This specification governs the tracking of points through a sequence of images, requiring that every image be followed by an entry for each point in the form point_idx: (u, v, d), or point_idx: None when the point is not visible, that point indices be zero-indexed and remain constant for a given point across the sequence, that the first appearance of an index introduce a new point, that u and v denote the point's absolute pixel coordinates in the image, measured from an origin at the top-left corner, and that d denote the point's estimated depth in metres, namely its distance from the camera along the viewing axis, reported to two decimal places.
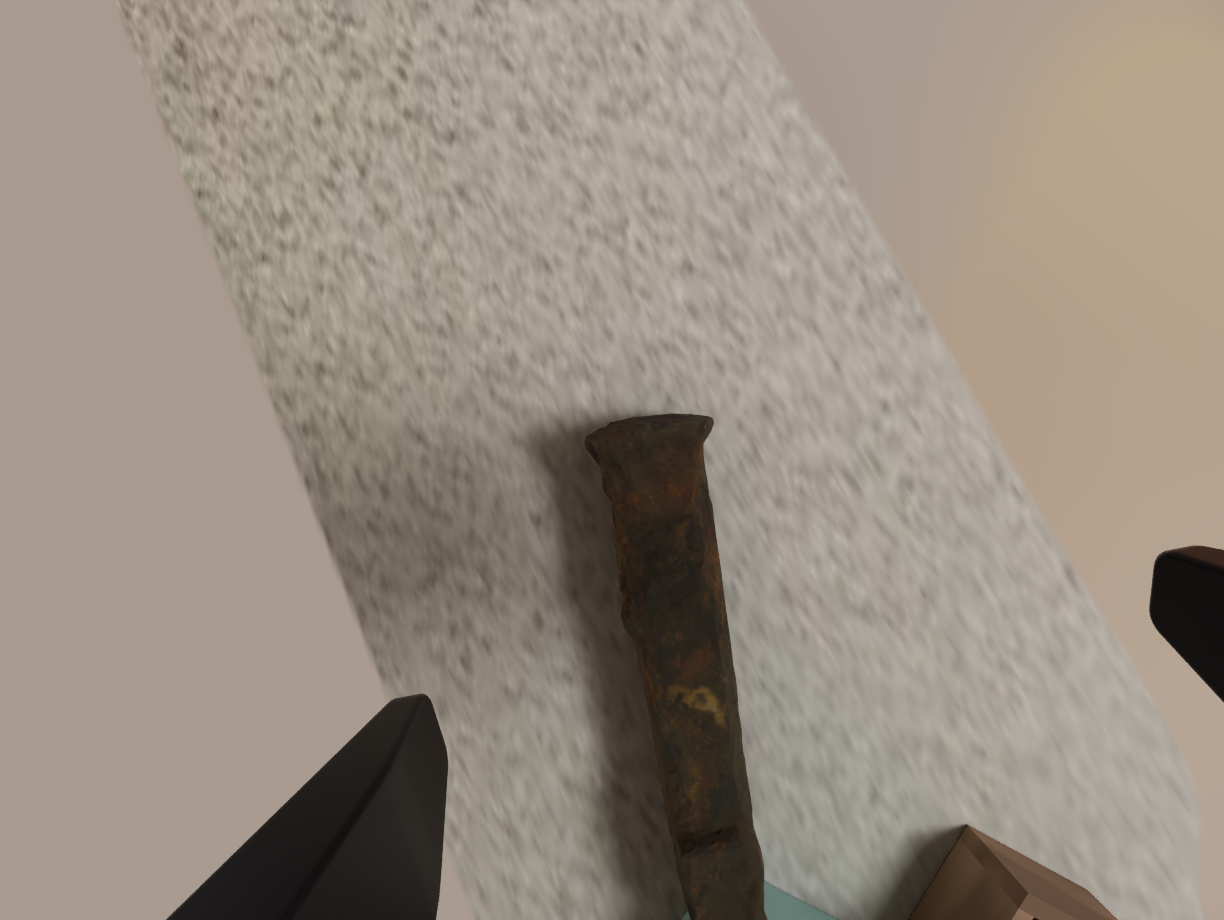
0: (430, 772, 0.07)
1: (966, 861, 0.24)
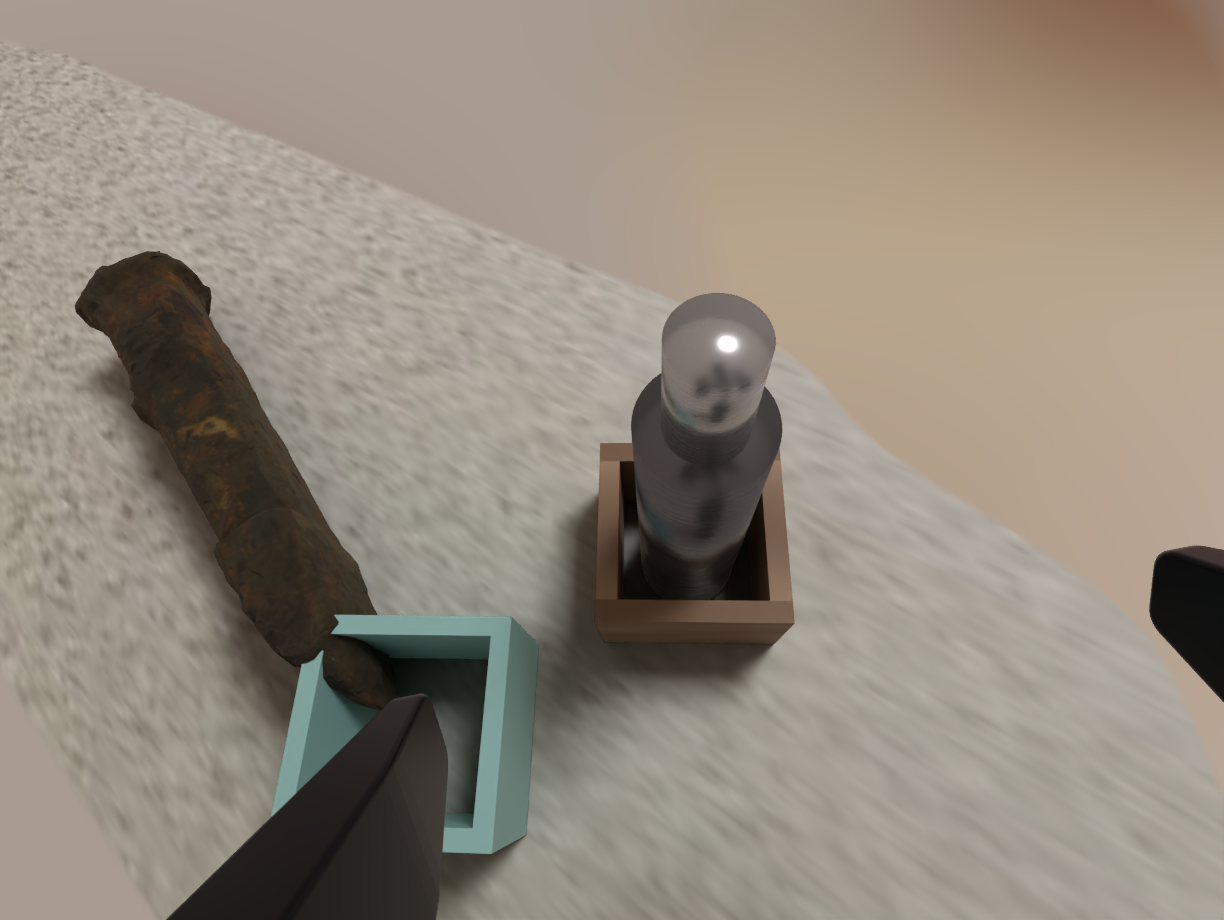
0: (430, 772, 0.07)
1: None
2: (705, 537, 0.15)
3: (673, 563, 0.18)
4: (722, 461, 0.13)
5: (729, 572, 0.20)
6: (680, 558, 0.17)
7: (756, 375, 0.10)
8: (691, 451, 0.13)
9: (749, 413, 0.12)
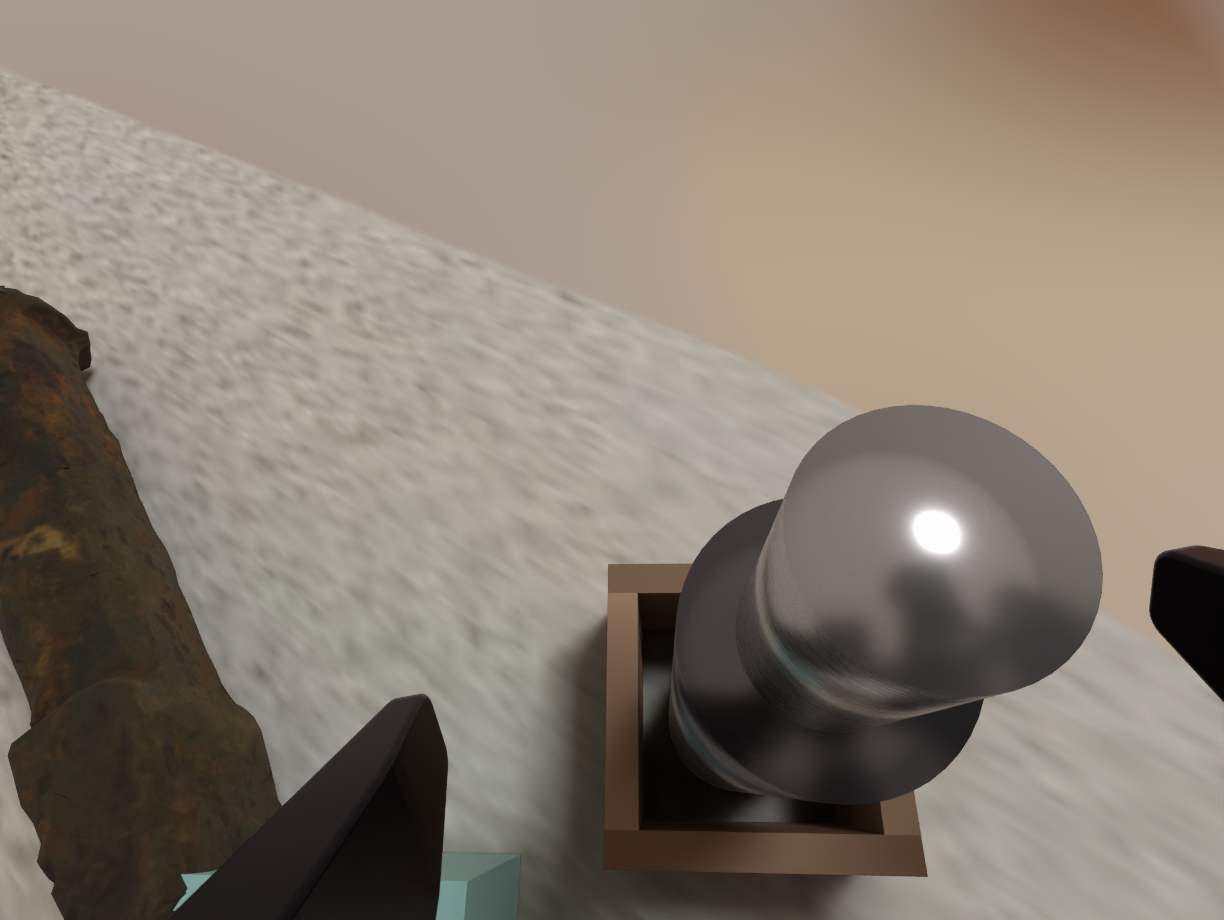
0: (430, 772, 0.07)
1: None
2: None
3: (731, 786, 0.11)
4: None
5: None
6: (746, 791, 0.10)
7: None
8: (812, 719, 0.06)
9: None
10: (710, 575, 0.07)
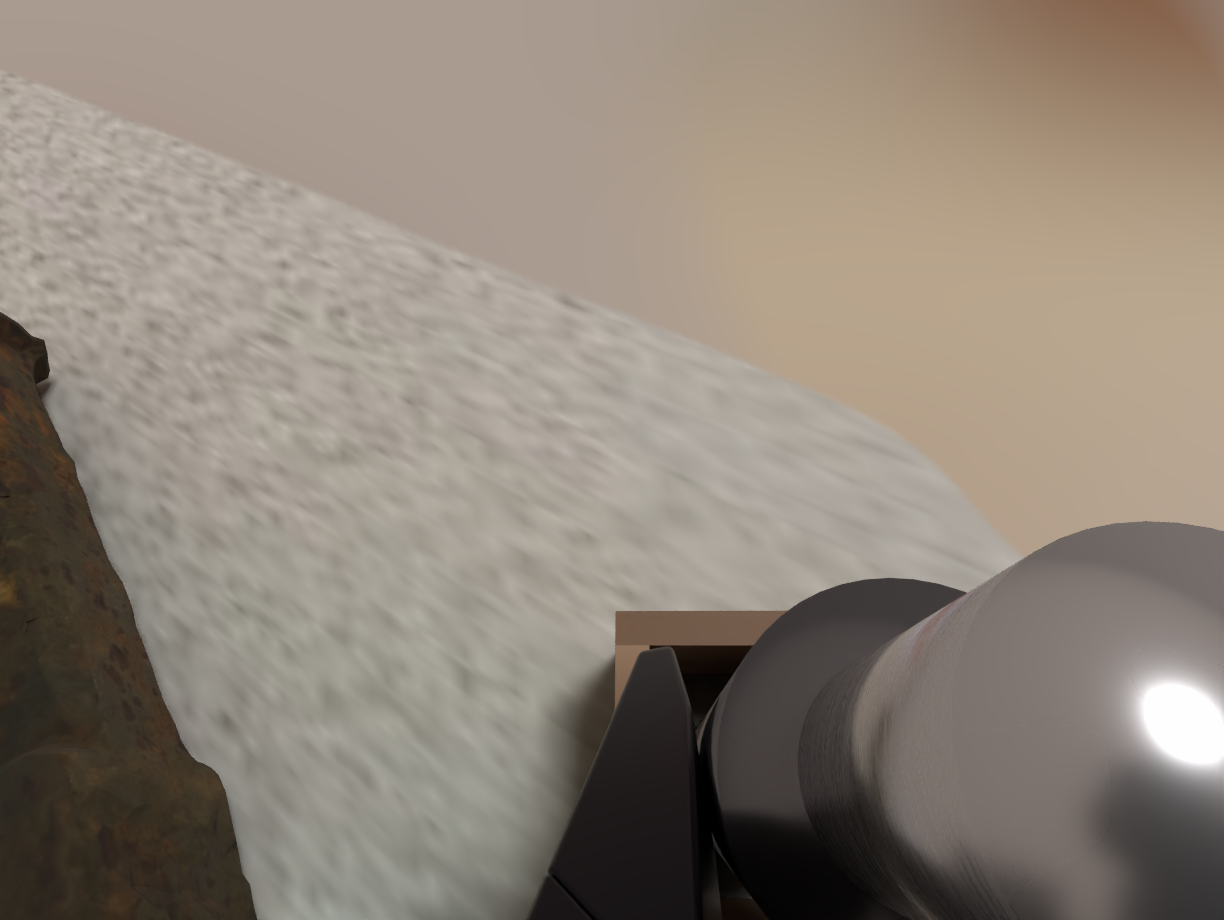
0: None
1: None
2: None
3: None
4: None
5: None
6: None
7: None
8: None
9: None
10: (761, 688, 0.05)
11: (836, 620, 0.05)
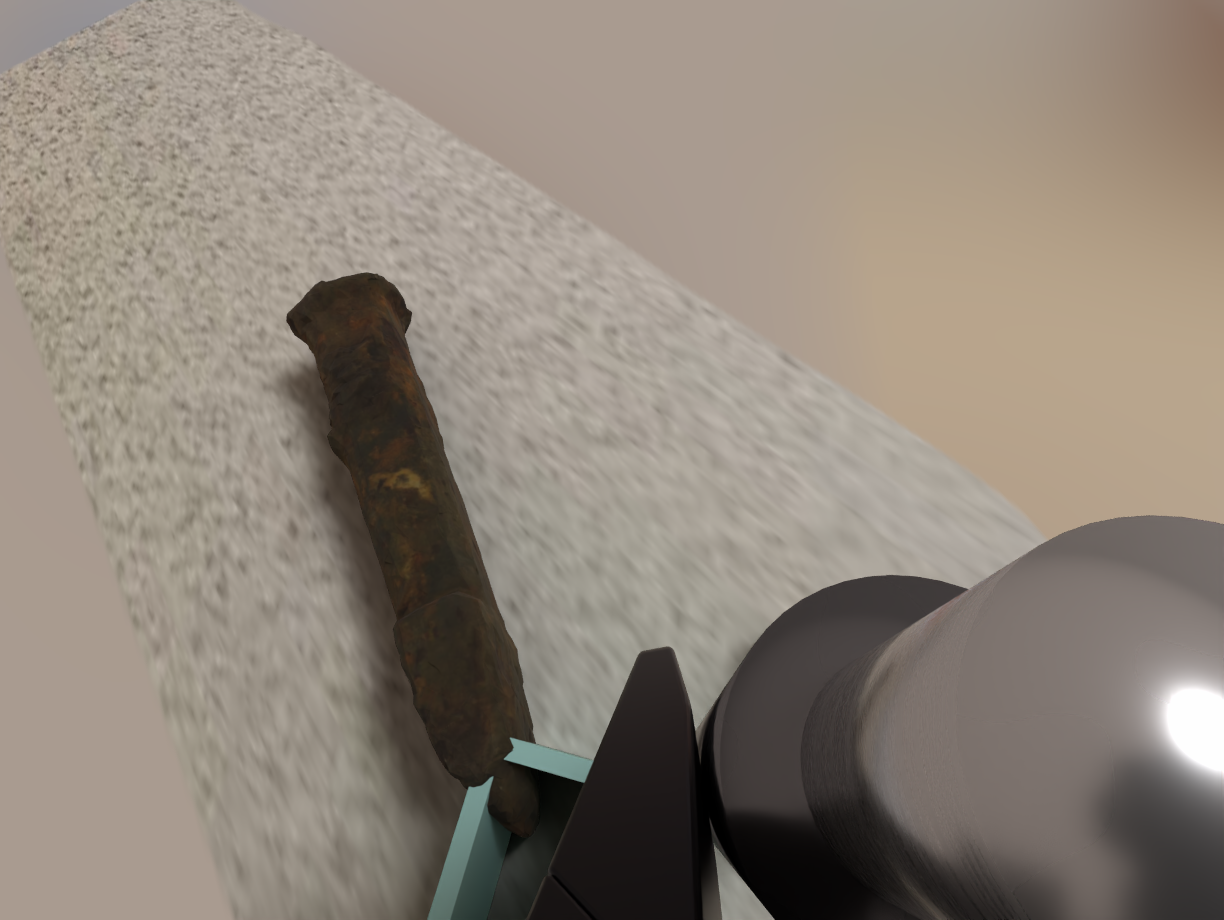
0: None
1: None
2: None
3: None
4: None
5: None
6: None
7: None
8: None
9: None
10: (764, 684, 0.05)
11: (839, 617, 0.05)
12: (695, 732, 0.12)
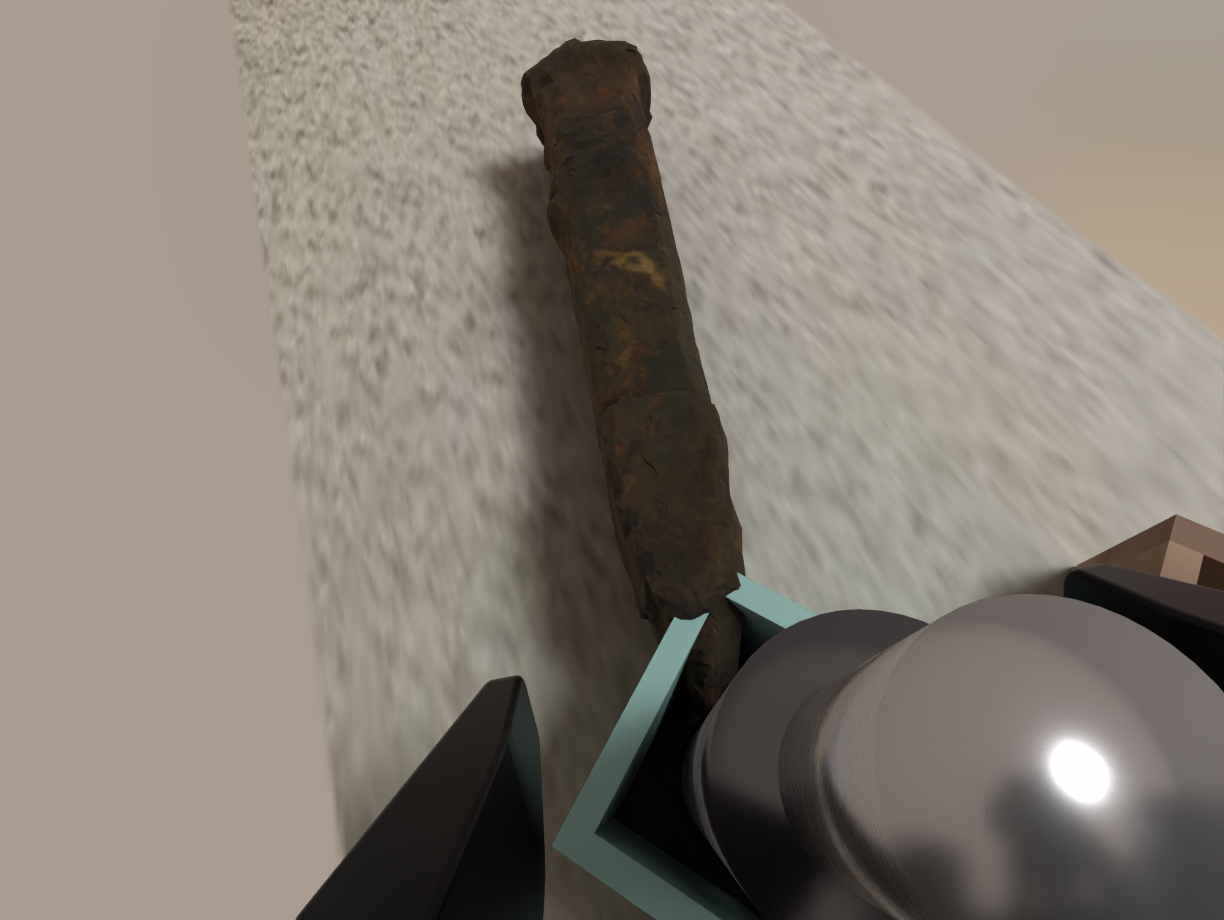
0: (530, 753, 0.07)
1: None
2: None
3: None
4: None
5: None
6: None
7: None
8: None
9: None
10: (748, 705, 0.06)
11: (813, 646, 0.06)
12: (692, 738, 0.13)
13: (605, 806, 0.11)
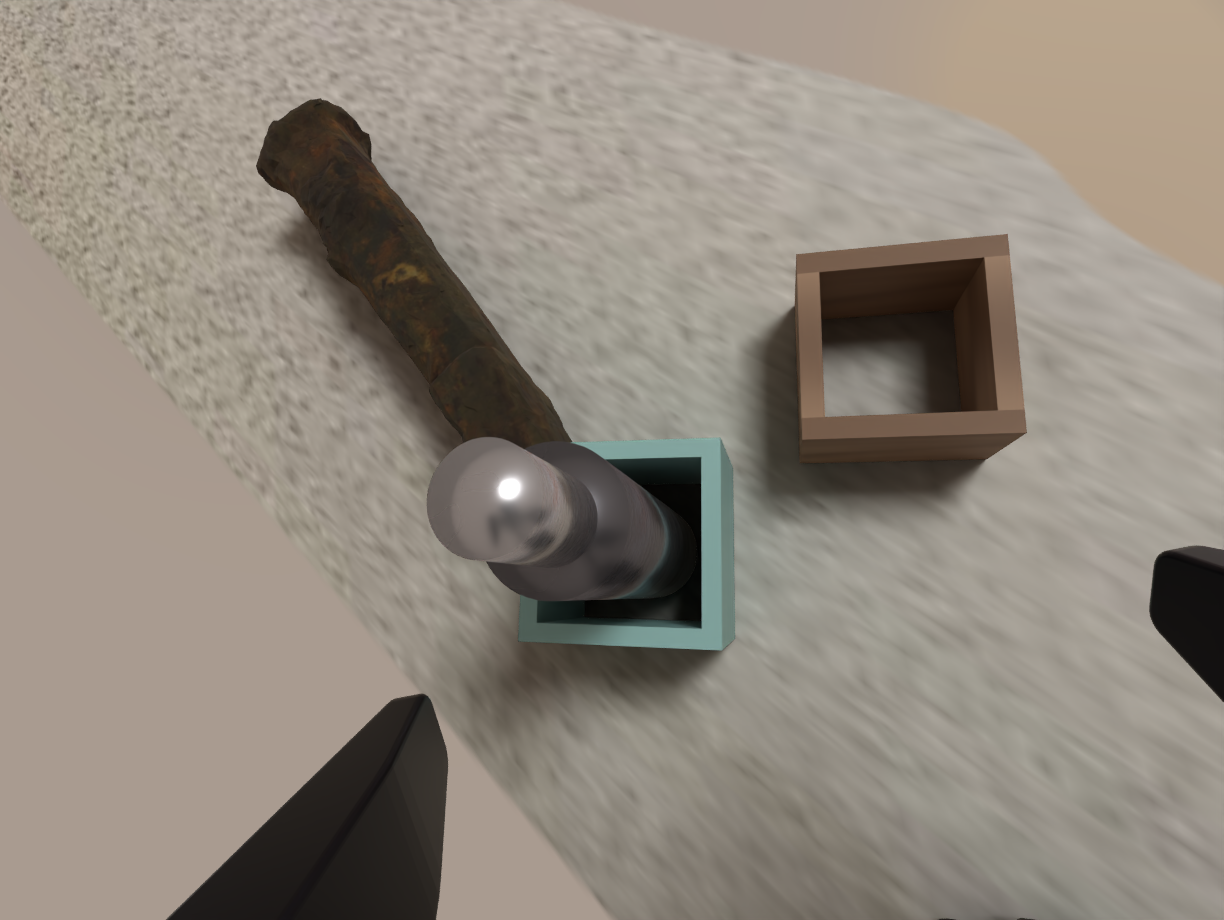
0: (430, 772, 0.07)
1: None
2: (626, 588, 0.15)
3: (624, 598, 0.17)
4: (584, 548, 0.12)
5: (689, 553, 0.20)
6: (625, 597, 0.17)
7: (535, 520, 0.09)
8: (546, 566, 0.12)
9: (566, 525, 0.11)
10: None
11: None
12: None
13: (535, 606, 0.18)
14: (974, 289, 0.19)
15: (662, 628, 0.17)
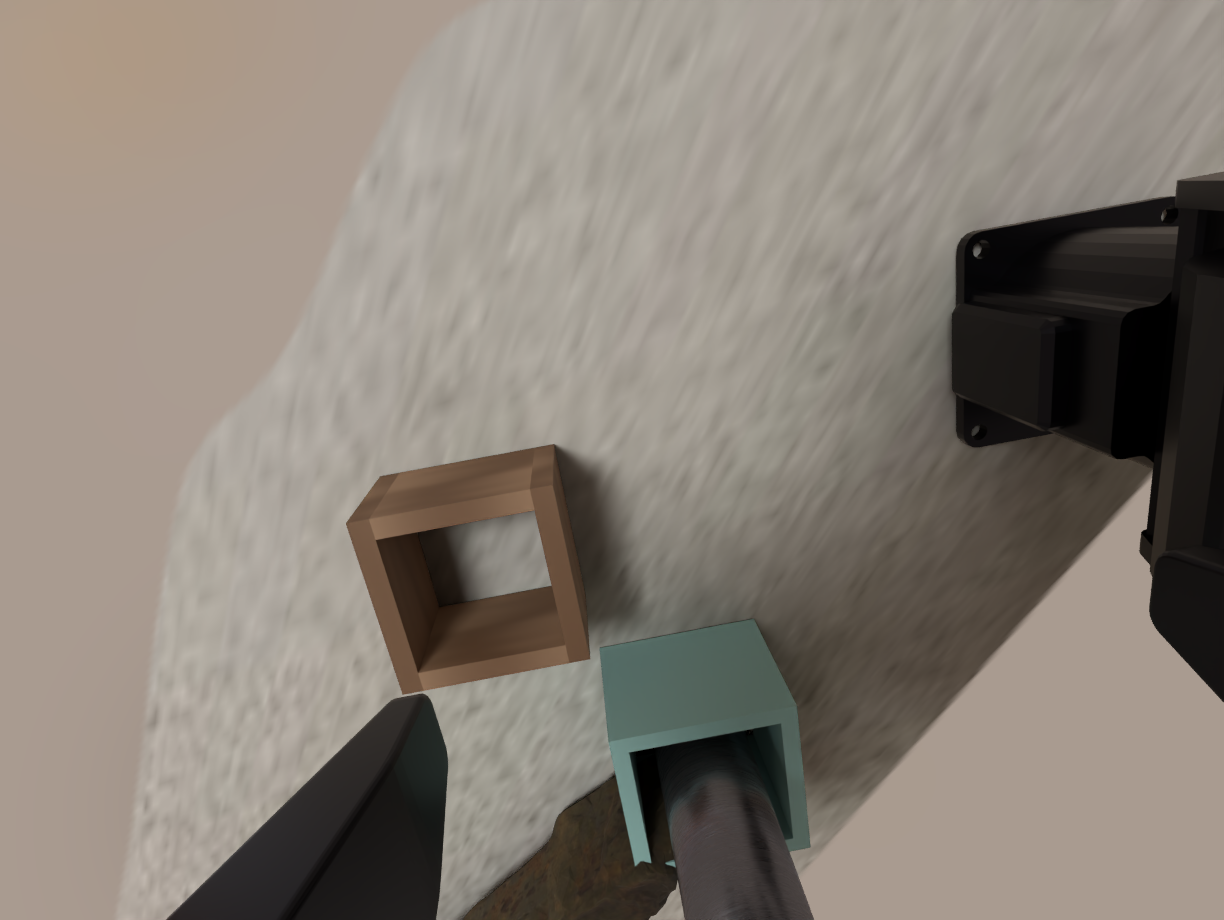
0: (430, 772, 0.07)
1: None
2: (782, 849, 0.17)
3: (764, 785, 0.20)
4: None
5: None
6: (770, 800, 0.19)
7: None
8: None
9: None
10: None
11: None
12: None
13: None
14: None
15: (785, 751, 0.19)
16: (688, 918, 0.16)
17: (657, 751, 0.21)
